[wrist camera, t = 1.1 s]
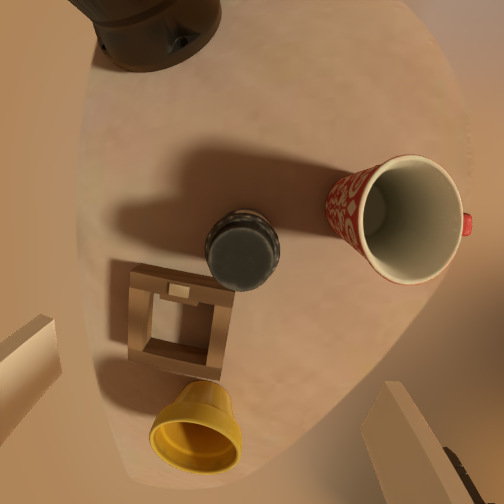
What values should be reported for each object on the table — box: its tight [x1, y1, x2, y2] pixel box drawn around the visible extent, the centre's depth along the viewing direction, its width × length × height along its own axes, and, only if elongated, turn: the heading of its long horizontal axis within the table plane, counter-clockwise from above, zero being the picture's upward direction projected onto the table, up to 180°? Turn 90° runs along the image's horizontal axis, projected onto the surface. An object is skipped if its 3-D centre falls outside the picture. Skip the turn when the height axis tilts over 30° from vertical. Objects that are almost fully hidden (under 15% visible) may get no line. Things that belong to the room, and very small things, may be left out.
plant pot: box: [149, 381, 242, 475], centre depth 31 cm, size 10×10×10 cm
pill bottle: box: [205, 209, 280, 292], centre depth 26 cm, size 6×6×11 cm
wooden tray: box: [128, 263, 235, 381], centre depth 32 cm, size 11×11×4 cm
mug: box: [325, 154, 472, 285], centre depth 24 cm, size 13×9×14 cm
